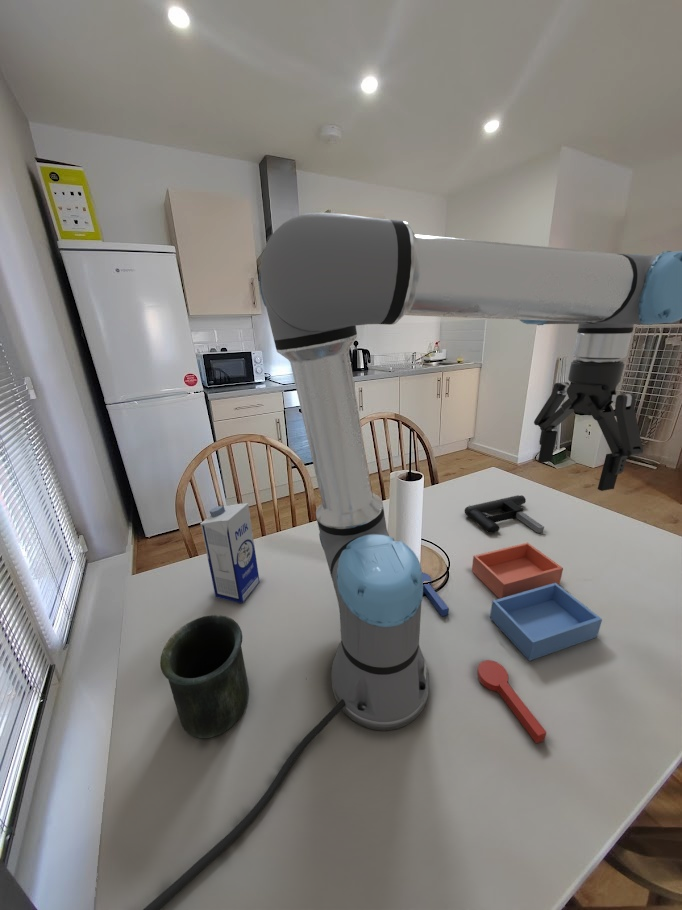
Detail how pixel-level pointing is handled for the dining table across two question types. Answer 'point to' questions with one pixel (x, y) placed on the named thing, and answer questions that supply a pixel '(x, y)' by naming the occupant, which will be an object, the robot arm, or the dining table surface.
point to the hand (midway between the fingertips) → (572, 474)
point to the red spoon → (509, 697)
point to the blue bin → (544, 620)
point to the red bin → (515, 570)
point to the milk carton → (231, 552)
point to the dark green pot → (207, 674)
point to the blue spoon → (434, 596)
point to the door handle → (506, 505)
